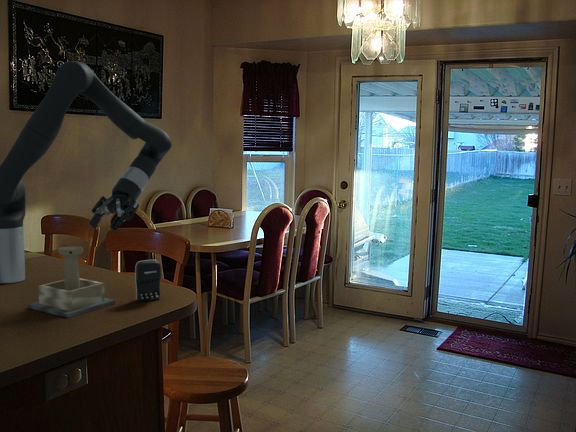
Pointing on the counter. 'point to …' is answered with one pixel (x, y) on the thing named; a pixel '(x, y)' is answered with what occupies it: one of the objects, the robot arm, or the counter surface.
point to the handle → (71, 266)
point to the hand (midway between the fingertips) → (101, 228)
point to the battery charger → (147, 280)
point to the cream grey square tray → (71, 298)
